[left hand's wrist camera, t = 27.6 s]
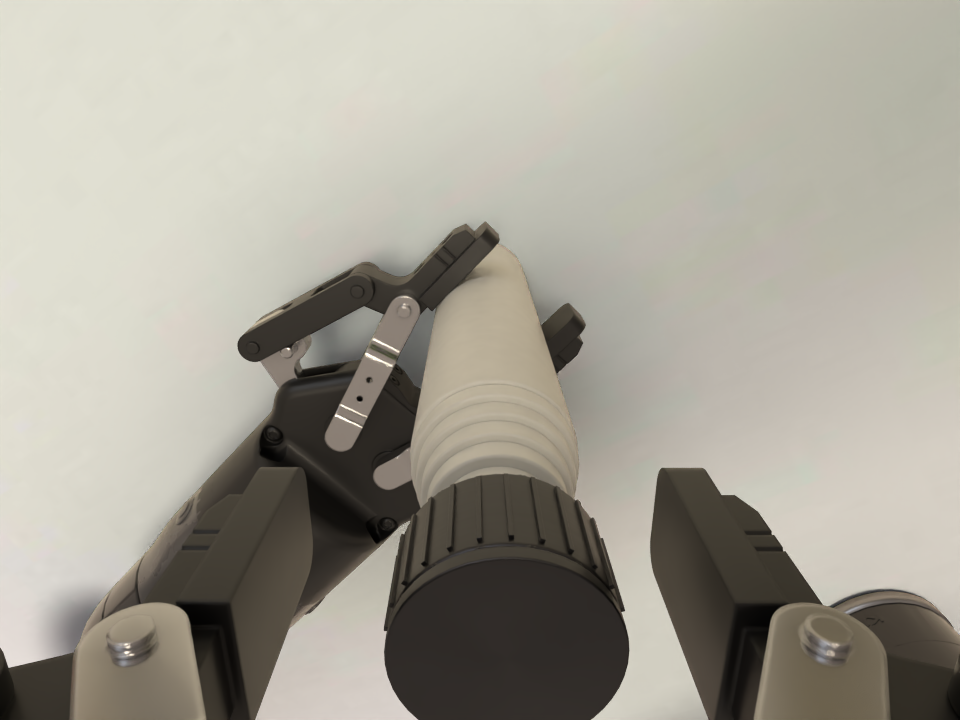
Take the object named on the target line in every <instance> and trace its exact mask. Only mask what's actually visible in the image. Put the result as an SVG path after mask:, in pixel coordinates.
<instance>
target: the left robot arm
mask: <svg viewBox="0 0 960 720" xmlns="http://www.w3.org/2000/svg"><path fill="white" fill-rule="evenodd" d="M650 553H651V562H652V568H653V572H654V576H655V578H656V581H657V584H658V586H659V589H660V592H661V594H662V597H663V600H664V602H665V605H666V608H667V610H668V613H669V616H670V618H671V621H672V624H673V626H674V629H675V631H676V634H677V637H678V639H679V642H680V645H681V647H682V650H683V653H684V655H685V658H686V661H687V663H688V666H689V669H690V671H691V674H692V677H693V679H694V682H695V685H696V687H697V690H698V692H699V695H700V698H701V700H702V703H703V706H704V708H705V711H706V714H707V716H708V719H709V720H960V654H959V657H958V660H957V663H956V666H955V668H954V669H951V668H947V667H942V666H938V665H934V664H930V663H925V662H921V661H917V660H912V659H908V658H904V657H900V656H896V655H893V654H890V653H887V652H886V651H885V649H884V646H883V644H882V643H881V641H880V640H879V639H878V637H877V636H876V635H875V634H874V633H873V632H872V631H871V630H870V629H869V628H868V627H866V626H865V625H864V624H863V623H861V622H860V621H858V620H857V619H855V618H853V617H852V616H850V615H848V614H846V613H844V612H842V611H839V610H837V609H834V608H831V607H828V606H824V605H822V603H821V602H820V600H819V599H818V597H817V596H816V594H815V593H814V592H813V590H812V589H811V587H810V586H809V584H808V583H807V582H806V580H805V579H804V577H803V576H802V574H801V573H800V571H799V570H798V569H797V567H796V566H795V564H794V563H793V561H792V560H791V559H790V557H789V556H788V554H787V553H786V551H783V547H782V546H781V544H780V543H779V541H778V540H777V538H776V537H775V536H774V535H772V534H771V530H770V528H769V527H768V526H767V524H766V523H765V521H764V520H763V518H762V517H761V515H760V514H759V513H758V512H757V511H756V510H755V509H753V508H752V507H750V506H749V505H748V504H746V503H745V502H743V501H742V500H741V499H739V498H738V497H737V496H735V495H721V494H720V492H719V491H718V489H717V487H716V486H715V484H714V483H713V481H712V480H711V478H710V476H709V475H708V473H707V472H706V470H705V469H703V468H661V469H660V471H659V474H658V478H657V485H656V494H655V503H654V512H653V521H652V530H651V540H650ZM312 555H313V537H312V528H311V519H310V509H309V500H308V491H307V482H306V475H305V472H304V470H303V468H302V467H261V468H259V469H258V470H257V472H256V473H255V475H254V477H253V478H252V480H251V481H250V483H249V485H248V486H247V488H246V489H245V491H244V493H243V494H229V495H227V496H226V497H225V498H223V499H222V500H220V501H219V502H218V503H216V504H215V505H213V506H212V507H211V508H209V509H208V510H206V511H205V513H204V514H203V516H202V517H201V519H200V520H199V522H198V523H197V525H196V526H195V527H194V529H193V533H192V534H190V535H189V536H188V538H187V539H186V541H185V542H184V543H183V545H182V549H181V550H179V551H178V552H177V554H176V555H175V557H174V558H173V559H172V561H171V562H170V564H169V565H168V567H167V568H166V570H165V571H164V572H163V574H162V575H161V577H160V578H159V580H158V581H157V583H156V584H155V586H154V587H153V588H152V590H151V591H150V593H149V594H148V596H147V597H146V599H145V600H144V602H143V603H142V604H140V605H136V606H132V607H129V608H126V609H123V610H121V611H118V612H116V613H114V614H112V615H110V616H108V617H107V618H105V619H103V620H102V621H100V622H99V623H97V624H96V625H95V626H94V627H92V628H91V629H90V630H89V631H88V632H87V633H86V634H85V635H84V636H83V637H82V639H81V640H80V641H79V643H78V644H77V646H76V649H75V651H74V653H70V654H66V655H63V656H58V657H54V658H50V659H46V660H41V661H37V662H33V663H28V664H24V665H20V666H15V667H11V668H8V665H7V662H6V659H5V656H4V653H3V651H2V650H1V648H0V720H255V718H256V716H257V713H258V710H259V708H260V705H261V702H262V700H263V697H264V694H265V691H266V689H267V686H268V683H269V681H270V678H271V675H272V673H273V670H274V667H275V664H276V662H277V659H278V656H279V654H280V651H281V648H282V646H283V643H284V640H285V637H286V635H287V632H288V629H289V627H290V624H291V621H292V619H293V616H294V613H295V610H296V608H297V605H298V602H299V600H300V597H301V594H302V592H303V589H304V586H305V584H306V581H307V578H308V575H309V572H310V568H311V563H312Z"/></svg>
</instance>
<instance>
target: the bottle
mask: <svg viewBox="0 0 960 720" xmlns="http://www.w3.org/2000/svg"><path fill="white" fill-rule="evenodd" d="M410 458H411V476H412V481H413V485H414V488H415V491H416V494H417V499H418V502H419V505H420V507H422V506H423V505H424V504H425V503H427V502H428V499H429V498H430V497H431V496H432V497H433V496H435V495H436V494H437V493H438V492H440V491H441V490H444V489H446V488H447V487H449V486H450V485H451V484H455V483H458V482H461V481H463V480H466V479H469V478H473V477H476V476H480V475H490V474H504V473H508V474H515V475H525V476H528V477H535V478H536V479H539V480H541V481H544V482H547V483H549V484H551V485H553V486H558V487H560V489H561V490H563V491H564V492H565V493H566V494H568V495H569V496H571V497H572V498H573V499H574V496H575V491H576V483H577V478H578V472H579V460H578V446H577V439H576V434H575V431H574V428H573V424H572V421H571V418H570V415H569V412H568V409H567V406H566V403H565V400H564V396H563V393H562V390H561V387H560V384H559V381H558V378H557V375H556V372H555V369H554V365H553V362H552V359H551V356H550V353H549V350H548V347H547V344H546V341H545V337H544V334H543V331H542V328H541V325H540V322H539V319H538V316H537V313H536V310H535V306H534V303H533V300H532V297H531V294H530V291H529V288H528V285H527V282H526V278H525V275H524V272H523V269H522V267H521V264H520V262H519V261H518V259H517V258H516V256H515V255H514V254H513V253H512V252H511V251H510V250H508V249H507V248H506V247H504V246H502V245H500V244H497V245H496V246H495V247H494V249H493V250H492V251H491V252H490V253H489V254H488V255H487V256H486V257H485V258H484V259H483V260H482V261H481V262H480V263H479V264H478V265H477V266H476V267H475V268H474V269H473V270H472V271H471V272H470V273H469V274H468V275H467V276H466V277H465V278H464V279H463V280H462V281H461V282H460V283H459V284H458V285H457V286H456V287H455V288H454V289H453V290H452V291H451V292H450V293H449V294H448V295H447V296H446V297H445V298H444V300H443V301H442V302H441V303H440V304H439V305H438V306H437V307H436V312H435V318H434V323H433V329H432V334H431V339H430V345H429V350H428V355H427V361H426V366H425V371H424V377H423V382H422V387H421V393H420V398H419V403H418V409H417V414H416V419H415V425H414V430H413V435H412V441H411V449H410Z"/></svg>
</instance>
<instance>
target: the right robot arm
mask: <svg viewBox="0 0 960 720" xmlns="http://www.w3.org/2000/svg"><path fill="white" fill-rule="evenodd" d="M499 240H500V239H499V235H498V233H497V232H496V231H495V230H494V229H493V228H492V227H491V226H490V225H489V224H488V223H487V222H484V223H483V224H482V225H481V226H480V227H479V228H478V229H477V230H476V231H475V232H474V231H473V230H472V229H471V228H470V227H469V226H468V225H467V224H465V225H462V226H460V227H458V228H456V229H454V230H453V231H452V232H451V233H450V234H449V235H448V236H447V237H446V238H445V239H444V240H443V241H442V242H441V243H440V244H439V245H438V246H437V248H436V249H435V250H434V251H433V252H432V253H431V254H430V255H429V256H428V257H427V258H426V259H425V260H424V261H423V262H422V263H421V264H420V265H419V266H418V267H417V269H416V270H415V271H414V272H412V273H411V274H410V275H407V276H404V277H396V276H393V275H390V274H388V273H386V272H383V271H381V270H380V269H379V268H378V267H377V266H376V265H375V264H373V263H370V262H363V263H360V264H358V265H356V266H354V267H353V268H351V269H349V270H347V271H345V272H343V273H342V274H340V275H338V276H336V277H334V278H332V279H331V280H329V281H327V282H325V283H323V284H321V285H320V286H318V287H316V288H314V289H312V290H310V291H309V292H307V293H305V294H303V295H301V296H299V297H298V298H296V299H294V300H292V301H290V302H288V303H287V304H285V305H283V306H281V307H279V308H277V309H276V310H274V311H272V312H270V313H268V314H266V315H265V316H263V317H261V318H260V319H259V320H258V321H257V322H256V323H255V324H254V325H253V326H252V327H251V328H250V329H249V330H248V331H247V332H246V333H245V334H244V335H243V336H241V337H240V339H239V341H238V351H239V353H240V354H241V356H242V357H243V358H245V359H246V360H248V361H252V362H258V361H261V363H262V364H263V366H264V367H265V369H266V370H267V371H268V373H269V374H270V376H271V377H272V379H273V380H274V382H275V383H276V384H277V386H278V387H279V389H278V391H277V393H276V395H275V399H274V405H273V409H272V412H271V413H270V414H269V415H268V416H267V417H266V419H265V420H264V421H263V422H262V423H261V424H260V425H259V426H258V427H257V428H256V429H255V430H254V431H253V432H252V433H251V434H250V435H249V436H248V437H247V439H246V440H245V441H244V442H243V443H242V444H241V445H240V446H239V447H238V448H237V449H236V450H235V451H234V452H233V453H232V454H231V455H230V456H229V458H228V459H227V460H226V461H225V462H224V463H223V464H222V465H221V466H220V467H219V468H218V469H217V470H216V471H215V472H214V473H213V474H212V475H211V476H210V478H209V479H208V480H207V481H206V482H205V483H204V484H203V485H202V486H201V487H200V488H199V489H198V490H197V491H196V492H195V494H194V495H193V496H192V497H191V498H189V499H188V500H187V501H186V502H185V503H184V505H183V506H182V507H181V508H180V509H179V510H178V511H177V513H176V514H175V515H174V516H173V517H172V518H171V520H170V521H169V522H168V524H167V525H166V526H165V528H164V529H163V530H162V532H161V534H160V535H159V537H158V538H157V540H156V541H155V543H154V544H153V545H152V546H151V548H150V549H149V550H148V551H147V552H146V553H145V554H144V555H143V556H142V557H141V558H140V559H139V560H138V561H137V562H136V563H135V564H134V566H133V567H132V568H131V569H130V570H129V571H128V572H127V573H126V574H125V575H124V576H123V577H122V578H121V579H120V580H119V581H118V582H117V583H116V584H115V586H114V587H113V588H112V589H111V590H110V591H109V592H108V593H107V594H106V596H105V597H104V598H103V599H102V600H101V601H100V603H99V604H98V605H97V607H96V608H95V610H94V611H93V613H92V615H91V616H90V618H89V619H88V621H87V623H86V625H85V628H84V630H83V633H82V636H81V638H80V640H81V639H82V637H83V636H84V635H85V634H86V633H87V632H88V631H89V630H90V629H91V628H92V627H94V626H95V625H96V624H97V623H99V622H100V621H102V620H103V619H105V618H107V617H108V616H110V615H112V614H114V613H116V612H118V611H121V610H123V609H126V608H129V607H132V606H136V605H140V604H142V603H143V602H144V600H145V599H146V597H147V596H148V594H149V593H150V591H151V590H152V588H153V587H154V586H155V584H156V583H157V581H158V580H159V578H160V577H161V575H162V574H163V572H164V571H165V570H166V568H167V567H168V565H169V564H170V562H171V561H172V559H173V558H174V557H175V555H176V554H177V552H178V551H179V550H181V549H182V545H183V543H184V542H185V541H186V539H187V538H188V536H189V535H190V534H192V533H193V529H194V527H195V526H196V525H197V523H198V522H199V520H200V519H201V517H202V516H203V514H204V513H205V511H206V510H208V509H209V508H211V507H212V506H213V505H215V504H216V503H218V502H219V501H220V500H222V499H223V498H225V497H226V496H227V495H229V494H243V493H244V491H245V489H246V488H247V486H248V485H249V483H250V481H251V480H252V478H253V477H254V475H255V473H256V472H257V470H258V469H259V468H261V467H302V468H303V470H304V472H305V475H306V482H307V491H308V500H309V509H310V519H311V528H312V537H313V555H312V563H311V568H310V572H309V575H308V578H307V581H306V584H305V586H304V589H303V592H302V594H301V597H300V600H299V602H298V605H297V608H296V610H295V613H294V616H293V619H292V621H291V624H290V627H292V626H293V625H294V624H295V623H296V622H297V621H298V620H299V619H301V618H302V617H303V616H304V615H306V614H308V613H311V612H312V611H313V610H314V609H315V608H316V607H317V606H318V605H319V604H320V603H321V602H322V600H323V599H324V598H325V596H326V595H327V594H328V593H329V592H330V591H331V590H332V589H333V588H334V587H336V586H337V585H338V584H339V583H340V582H341V581H342V580H343V579H344V578H345V577H347V576H348V575H349V574H350V573H351V572H352V571H353V570H354V569H355V568H356V567H358V566H359V565H360V564H361V563H362V562H363V561H364V560H365V559H366V558H367V557H369V556H370V555H371V554H372V553H373V552H374V551H375V550H376V549H377V548H378V547H379V546H381V545H382V544H383V543H384V542H385V541H386V540H387V539H388V538H389V537H390V536H391V535H392V533H393V532H394V531H395V530H396V529H397V528H398V527H399V526H401V525H402V524H404V523H406V522H408V521H410V520H411V516H412V515H413V514H416V513H417V512H418V511H419V510H420V509H421V507H420V505H419V502H418V499H417V494H416V491H415V488H414V485H413V481H412V476H411V458H410V449H411V441H412V435H413V430H414V425H415V419H416V414H417V409H418V403H419V398H420V393H421V389H420V388H418V387H416V386H414V384H413V383H412V382H411V380H410V379H409V377H408V376H407V374H406V373H405V371H404V370H403V369H401V368H400V367H399V366H398V365H397V364H396V361H397V359H398V357H399V355H400V353H401V351H402V349H403V347H404V345H405V343H406V341H407V339H408V337H409V335H410V333H411V332H412V330H413V328H414V326H415V324H416V322H417V320H418V318H419V316H420V314H421V313H422V312H423V311H424V310H425V309H426V308H427V307H428V308H429V309H430V310H431V311H433V310H434V309H435V308H436V307H437V306H438V305H439V304H440V303H441V302H442V301H443V300H444V298H445V297H446V296H447V295H448V294H449V293H450V292H451V291H452V290H453V289H454V288H455V287H456V286H457V285H458V284H459V283H460V282H461V281H462V280H463V279H464V278H465V277H466V276H467V275H468V274H469V273H470V272H471V271H472V270H473V269H474V268H475V267H476V266H477V265H478V264H479V263H480V262H481V261H482V260H483V259H484V258H485V257H486V256H487V255H488V254H489V253H490V252H491V251H492V250H493V249H494V247H495V246H496V245H497V244H498V242H499ZM363 306H365V307H368V308H370V309H373V310H375V311H377V312H380V313H382V314H384V315H383V317H382V319H381V321H380V323H379V325H378V327H377V328H376V330H375V332H374V334H373V336H372V338H371V340H370V342H369V344H368V346H367V348H366V350H365V352H364V354H363V356H362V358H361V360H355V361H349V362H343V363H337V364H331V365H325V366H319V367H313V368H307V369H302V368H301V366H300V358H302V357H303V356H304V355H305V353H306V352H307V350H308V349H309V347H310V346H311V342H312V339H311V335H310V334H312V333H314V332H316V331H318V330H320V329H321V328H323V327H325V326H327V325H329V324H331V323H333V322H335V321H337V320H338V319H340V318H342V317H344V316H346V315H348V314H350V313H352V312H353V311H355V310H357V309H359V308H361V307H363ZM585 326H586V324H585V322H584V320H583V318H582V316H581V315H580V314H579V313H578V312H577V311H576V310H575V309H574V308H573V307H572V306H571V305H570V304H569V303H567V304H565V305H563V306H562V307H560V308H559V309H558V310H557V311H556V312H555V313H554V314H553V315H552V316H551V317H550V318H549V319H548V320H547V321H546V322H545V323H544V324H542V325H541V328H542V331H543V334H544V337H545V341H546V344H547V347H548V350H549V353H550V356H551V359H552V362H553V365H554V369H555V372H556V374H557V373H558V372H559V371H560V370H561V369H562V368H563V367H565V366H566V364H568V363H569V362H570V361H571V360H572V359H573V358H574V357H575V356H577V354H578V352H579V350H580V348H581V346H582V344H583V342H582V340H581V338H580V334H581V333H582V331H583V330H584V328H585ZM834 609H837V610H839V611H842V612H844V613H846V614H848V615H850V616H852V617H853V618H855V619H857V620H858V621H860V622H861V623H863V624H864V625H865V626H866V627H868V628H869V629H870V630H871V631H872V632H873V633H874V634H875V635H876V636H877V637H878V639H879V640H880V641H881V643H882V644H883V646H884V649H885V651H886V652H887V653H890V654H893V655H896V656H900V657H904V658H908V659H912V660H917V661H921V662H925V663H930V664H934V665H938V666H942V667H947V668H951V669H954V668H955V666H956V663H957V660H958V657H959V654H960V635H959V634H958V633H957V632H956V631H955V630H954V628H953V626H952V625H951V623H950V622H949V621H948V620H947V618H946V617H945V616H944V615H943V614H942V613H941V612H940V611H939V610H938V609H937V608H936V607H935V606H934V605H933V604H931V603H930V602H928V601H927V600H925V599H923V598H921V597H918V596H916V595H912V594H909V593H903V592H892V591H886V592H875V593H870V594H865V595H861V596H858V597H855V598H852V599H850V600H847V601H845V602H843V603H841V604H839V605H837V606H836V607H834ZM290 627H289V628H290Z"/></svg>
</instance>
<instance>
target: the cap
mask: <svg viewBox="0 0 960 720" xmlns="http://www.w3.org/2000/svg"><path fill="white" fill-rule="evenodd" d="M623 611H625V609H624V605H623V602H622V599H621V596H620V592H619V589H618V586H617V583H616V579H615V576H614V573H613V570H612V566H611V563H610V560H609V556H608V553H607V550H606V547H605V543H604V540H603V538H600V535H599V532H598V528H597V525H596V522H595V520H594V518H590V517H589V515H588V514H587V512H586V511H585V510H584V509H583V508H582V506H581V503H580V501H578V500H576V501H575V500H574V499H573V498H572V497H571V496H569V495H568V494H566V493H565V492H564V491H563V490H561V489H560V487H558V486H553V485H551V484H549V483H547V482H544V481H541V480H539V479H536V478H535V477H528V476H525V475H515V474H508V473H504V474H490V475H480V476H476V477H473V478H469V479H466V480H463V481H461V482H458V483H455V484H451V485H450V486H449V487H447V488H446V489H444V490H441V491H440V492H438V493H437V494H436V495H435V496H433V497H432V496H431V497H430V498H429V499H428V502H427V503H425V504H424V505H423V506H422V507H421V509H420V510H419V511H418V512H417V513H416V514H413V515H412V516H411V522H410V524H409V525H408V528H407V530H406V532H405V534H401V537H400V542H399V548H398V554H397V556H396V561H395V567H394V572H393V578H392V584H391V590H390V596H389V601H388V607H387V613H386V619H385V625H384V631H387V634H386V640H385V650H384V656H385V667H386V671H387V675H388V678H389V681H390V683H391V686H392V688H393V690H394V692H395V693H396V695H397V697H398V698H399V700H400V701H401V702H402V704H403V705H404V706H405V707H406V708H407V710H408V711H409V712H410V713H412V714H413V715H414V716H415V717H416V718H417V719H418V720H591V719H592V718H594V717H595V716H596V715H597V714H598V713H599V712H600V711H602V710H603V709H604V708H605V706H606V705H607V704H608V703H609V702H610V701H611V699H612V698H613V696H614V695H615V693H616V692H617V690H618V689H619V687H620V685H621V682H622V680H623V678H624V676H625V672H626V668H627V665H628V658H629V638H628V634H627V630H626V625H625V622H624V619H623V615H622V613H621V612H623Z"/></svg>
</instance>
